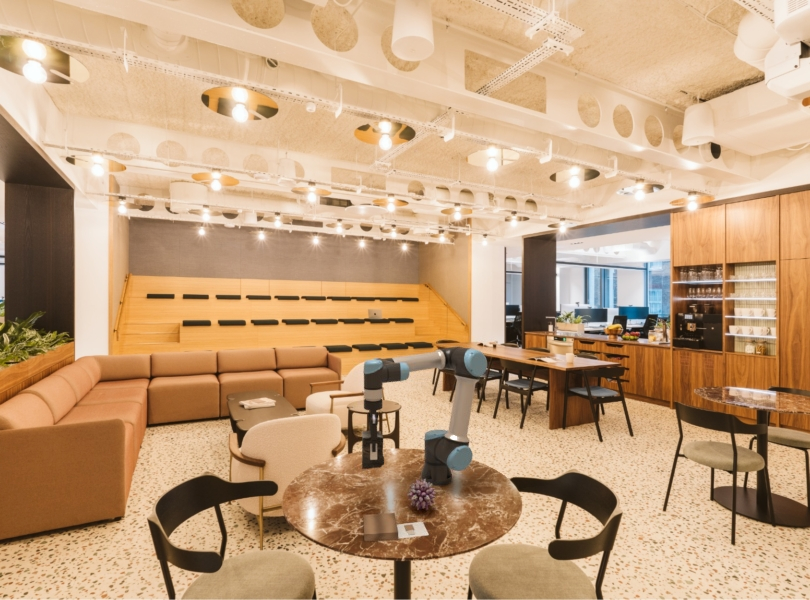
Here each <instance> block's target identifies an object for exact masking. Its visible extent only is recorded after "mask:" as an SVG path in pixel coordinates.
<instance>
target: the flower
mask: <svg viewBox="0 0 810 600" xmlns="http://www.w3.org/2000/svg"><path fill="white" fill-rule="evenodd" d="M415 481H416V482H412V484H410V485H409V487H410V489H409V490H408V493H407V497H410V498H408V501H411V503H410V506H413V507H416V508H417V511H419V510H422V509H423V510H424V509H425V510H426V511H427V510H429V506H430V507H431V506H432V505H433V504H435V501H434V500H433V499H436V496H435V495H437V493H436V492H434V491H436V489H435V487H434V488H432V487H433V484H432V483H431V484H430V482H429V483H428V484H427V482H426V479H424V481H423V480H421V479H420V480H418V479H417V478H416V479H415Z"/></svg>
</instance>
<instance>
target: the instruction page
mask: <svg viewBox="0 0 810 600" xmlns="http://www.w3.org/2000/svg"><path fill="white" fill-rule="evenodd" d="M397 528H398V540H399V539H408V538H417V537H425V536H426V537H427V536H429V532H428V530H427V528H426V526H425V524H424V522H423V521H416V522H408V523H399V524H397Z"/></svg>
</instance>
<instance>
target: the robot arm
mask: <svg viewBox="0 0 810 600" xmlns="http://www.w3.org/2000/svg"><path fill="white" fill-rule="evenodd" d="M487 368H488V361H487V358H486V356H485V354H484V353H483V352H482V351H481V350H478V349H475V348H469V347H465V346H464V347H462V346H450V347H444V348H440V349H436V350H434V351H432V352H425V353H418V354H410V355H403V356H395V357H390V358H389V357H388V358H380V357H376V358H373V359H366V360H365V361H364V363H363V390H362V392H361V393H362V394H363V398H364V399H363V409H364V410H366V411H368V412H367V416H368V425H369V427H368V429H369V430H368V431H371V442H369V444H370V460H377V443H378V441H377V431H378V424H379V411H380V410H381V409H383V395H384V393H383V391H384V390H383V384H384V383H385V384H386V383H393V382H403V381H407V380H408V379H409V377H410V373H412V372H418V371H419V372H420V371H424V370H432V369H438V370H450V371H451V370H452V371H454V377H455V379H456V383H455V390H454V395H453V403H452V407H451V414H450V418H449V424H448V425H449V426H448V430H447V429H433V430H428V431H426V432H425V433H424V439H423V441H424V463H423V466H422V469H421V472H420V481H421V480H423V481H424V479H426V482H427V484H428V483H429V482H430V484H431V483H432V484H433V485H432V487H433V486H435V487H440V486H441V487H442V486H446V485H449V484H451V483H452V481H453V473H452V470H453V471H454V472H455V471H456V472H461V471H464V470H465V469H467V468H468V467H469V466H470V464H471V462H472V460H473V456H474V455H473V454H474V453H473V451H472V449H471V447H470V439H469V437H468V433H469V426H470V425H469V424H470V419H471V412H472V408H473V401H474V396H475V390H476V389H475V388H476V384H477V383H478V382H480V380H481V376H483V375H484V374H485V373H486V371H487ZM377 411H378V412H377Z"/></svg>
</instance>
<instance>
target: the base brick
mask: <svg viewBox="0 0 810 600" xmlns="http://www.w3.org/2000/svg"><path fill="white" fill-rule="evenodd" d="M362 519H363V536H364V539H363V540H364V542H380V541H381V542H382V541H396V540H397V541H398V540H399V538H398V528H397V525H398V524H397V518H396V514H395V512H390V513H375V514H373V513H372V514H363V518H362Z"/></svg>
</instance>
